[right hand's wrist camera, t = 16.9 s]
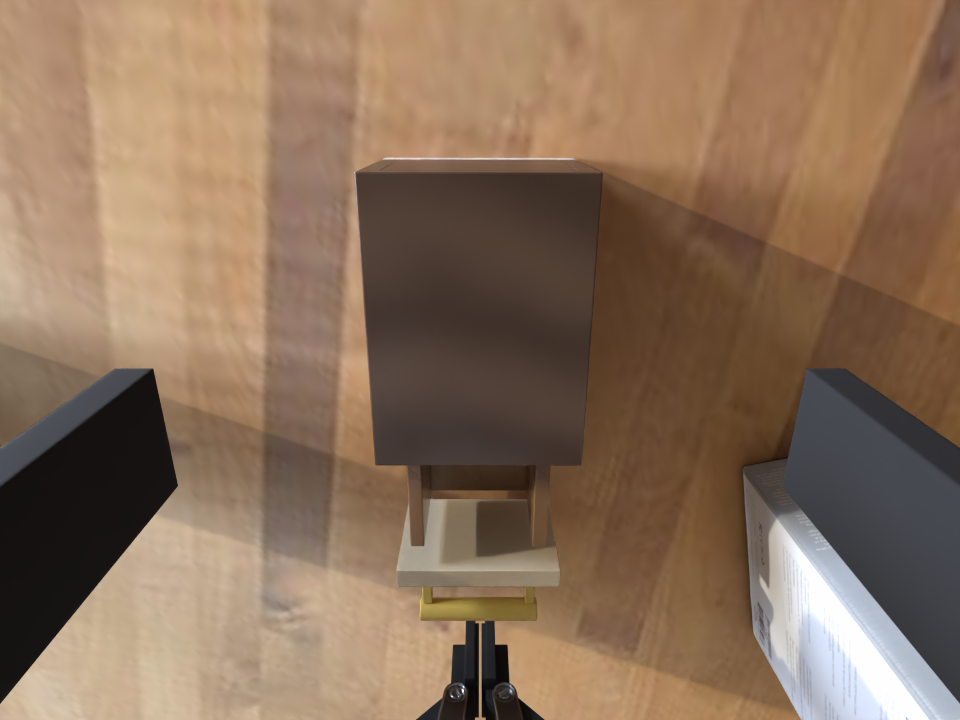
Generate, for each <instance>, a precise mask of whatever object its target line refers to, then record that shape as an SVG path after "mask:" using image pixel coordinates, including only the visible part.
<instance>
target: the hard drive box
mask: <svg viewBox="0 0 960 720" xmlns="http://www.w3.org/2000/svg"><path fill="white" fill-rule="evenodd" d="M787 460H788V458H787V459H781V460H776V461H771V462H766V463H760V464H755V465H750V466H746V467H744V468H743V482H744V493H745V514H746V525H747V543H748V558H749V574H750V595H751V607H752V620H753V632H754V635H755V637H756V639H757V641H758V643H759V645H760V647H761V649H762V650H763V652H764V654H765V656H766V658H767V659H768V661H769V663H770V665H771V667H772V669H773V670H774V672H775V674H776V676H777V677H778V679H779V681H780V683H781V684H782V686H783V688H784V690H785V692H786V694H787V695H788V697H789V699H790V701H791V703H792V704H793V706H794V708H795V710H796V712H797V713H798V715H799V717H800V719H801V720H960V703H959V702H958V701H957V700H956V699H955V697H954V696H953V695H952V694H951V692H950V691H949V690H948V689H947V688H946V686H945V685H944V684H943V683H942V681H941V680H940V679H939V678H938V677H937V675H936V674H935V673H934V672H933V670H932V669H931V668H930V667H929V665H928V664H927V663H926V662H925V661H924V659H923V658H922V657H921V656H920V654H919V653H918V652H917V651H916V650H915V648H914V647H913V646H912V645H911V643H910V642H909V641H908V640H907V639H906V637H905V636H904V635H903V634H902V632H901V631H900V630H899V629H898V627H897V626H896V625H895V624H894V623H893V621H892V620H891V619H890V618H889V616H888V615H887V614H886V613H885V612H884V610H883V609H882V608H881V607H880V605H879V604H878V603H877V602H876V601H875V599H874V598H873V597H872V596H871V594H870V593H869V592H868V591H867V590H866V588H865V587H864V586H863V585H862V583H861V582H860V581H859V580H858V578H857V577H856V576H855V575H854V574H853V572H852V571H851V570H850V569H849V567H848V566H847V565H846V564H845V563H844V561H843V560H842V559H841V558H840V556H839V555H838V554H837V553H836V552H835V550H834V549H833V548H832V547H831V545H830V544H829V543H828V542H827V540H826V539H825V538H824V537H823V536H822V534H821V533H820V532H819V531H818V529H817V528H816V527H815V526H814V525H813V523H812V522H811V521H810V520H809V518H808V517H807V516H806V515H805V514H804V512H803V511H802V510H801V509H800V507H799V506H798V505H797V504H796V502H795V501H794V500H793V499H792V498H791V496H790V495H789V494H788V493H787V491H786V490H785V489H784V488H783V487H782V484H783V479H784V474H785V469H786V465H787Z"/></svg>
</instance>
